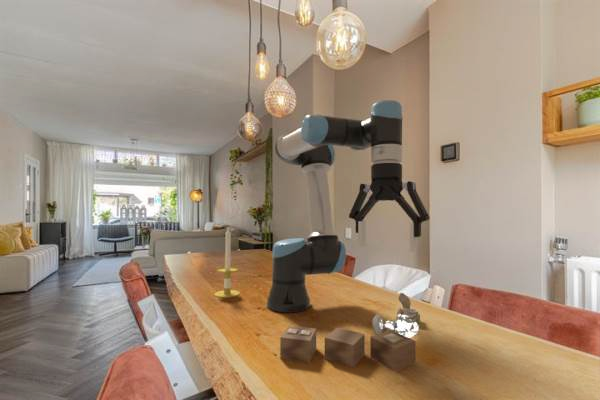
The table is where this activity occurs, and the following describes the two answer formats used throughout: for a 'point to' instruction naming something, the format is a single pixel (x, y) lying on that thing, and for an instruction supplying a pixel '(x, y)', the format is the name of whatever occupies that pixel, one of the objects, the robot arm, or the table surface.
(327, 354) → the plain block
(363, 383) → the table surface
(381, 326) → the figurine
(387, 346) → the dot block one
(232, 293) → the candle
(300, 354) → the dot block two
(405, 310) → the bone
